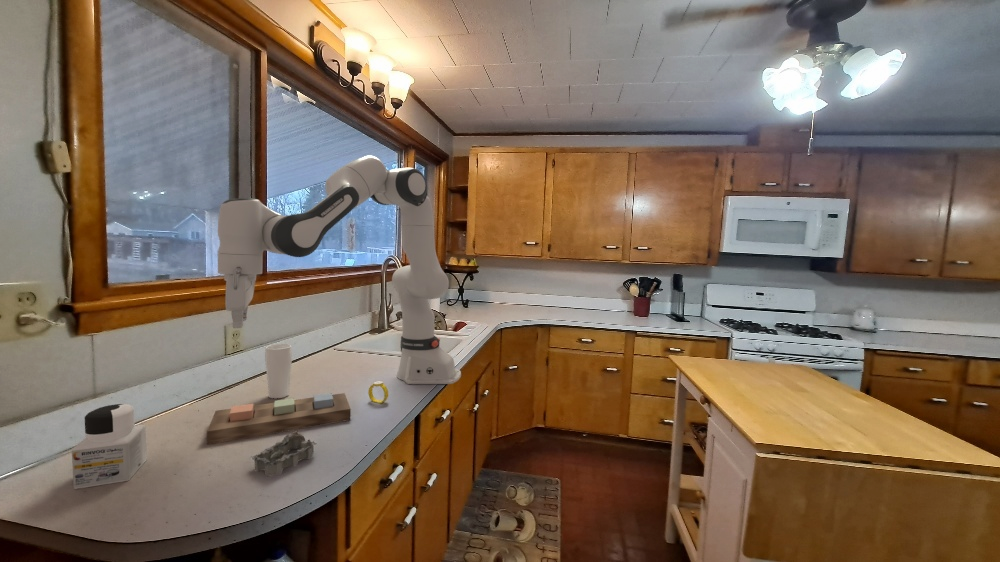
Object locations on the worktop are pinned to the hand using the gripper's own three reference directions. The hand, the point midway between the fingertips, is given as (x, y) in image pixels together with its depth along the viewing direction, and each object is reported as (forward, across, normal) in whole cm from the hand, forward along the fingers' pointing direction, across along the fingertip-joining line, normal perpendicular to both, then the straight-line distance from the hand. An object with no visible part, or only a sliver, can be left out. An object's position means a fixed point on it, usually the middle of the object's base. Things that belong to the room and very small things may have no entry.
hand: (240, 324), depth 92 cm
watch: (+25, +3, -34) cm, 42 cm away
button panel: (+25, 0, -10) cm, 27 cm away
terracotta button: (+24, 0, -1) cm, 24 cm away
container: (+26, -12, +19) cm, 35 cm away
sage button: (+23, 0, -10) cm, 25 cm away
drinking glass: (+26, +19, -8) cm, 33 cm away
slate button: (+23, 0, -19) cm, 30 cm away
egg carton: (+26, -21, -10) cm, 35 cm away
